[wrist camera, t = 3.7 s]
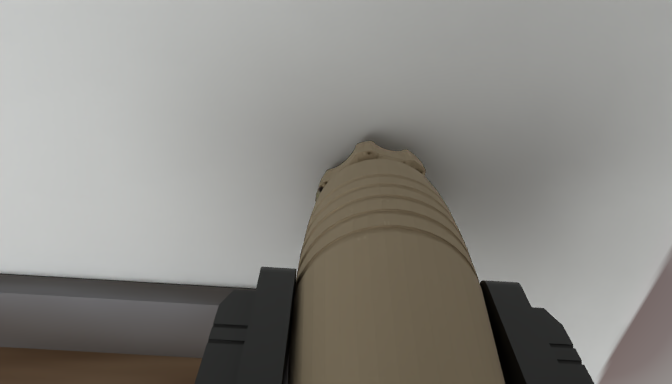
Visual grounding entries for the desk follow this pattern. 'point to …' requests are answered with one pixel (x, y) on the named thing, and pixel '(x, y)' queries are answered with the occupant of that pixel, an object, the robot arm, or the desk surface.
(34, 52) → the desk surface
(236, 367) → the robot arm
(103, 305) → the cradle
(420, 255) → the handle
